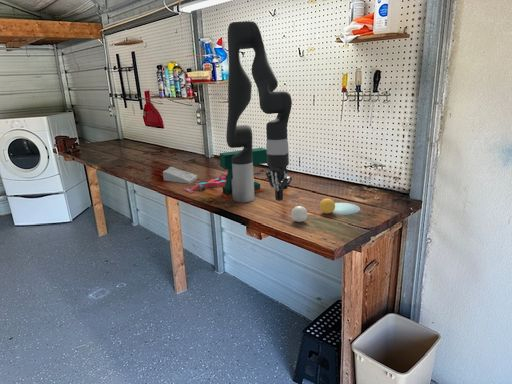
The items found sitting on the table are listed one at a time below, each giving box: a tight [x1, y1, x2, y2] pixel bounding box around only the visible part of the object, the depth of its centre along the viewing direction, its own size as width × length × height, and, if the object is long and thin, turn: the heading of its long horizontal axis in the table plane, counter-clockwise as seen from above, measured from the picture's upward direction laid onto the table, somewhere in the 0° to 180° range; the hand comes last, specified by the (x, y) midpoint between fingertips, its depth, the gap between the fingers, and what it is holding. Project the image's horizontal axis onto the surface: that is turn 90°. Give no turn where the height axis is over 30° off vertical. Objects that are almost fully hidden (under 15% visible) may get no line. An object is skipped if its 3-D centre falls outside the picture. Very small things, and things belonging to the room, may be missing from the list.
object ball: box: [319, 197, 336, 215], centre depth 149 cm, size 6×6×6 cm
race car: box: [183, 170, 228, 194], centre depth 194 cm, size 14×6×25 cm
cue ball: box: [290, 205, 308, 223], centre depth 142 cm, size 6×6×6 cm
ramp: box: [162, 166, 198, 185], centre depth 212 cm, size 28×16×5 cm, turn 37°
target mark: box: [330, 202, 361, 216], centre depth 153 cm, size 14×14×1 cm
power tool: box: [218, 147, 267, 199], centre depth 181 cm, size 32×7×20 cm, turn 115°
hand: (279, 200), depth 134 cm, fingers closed
